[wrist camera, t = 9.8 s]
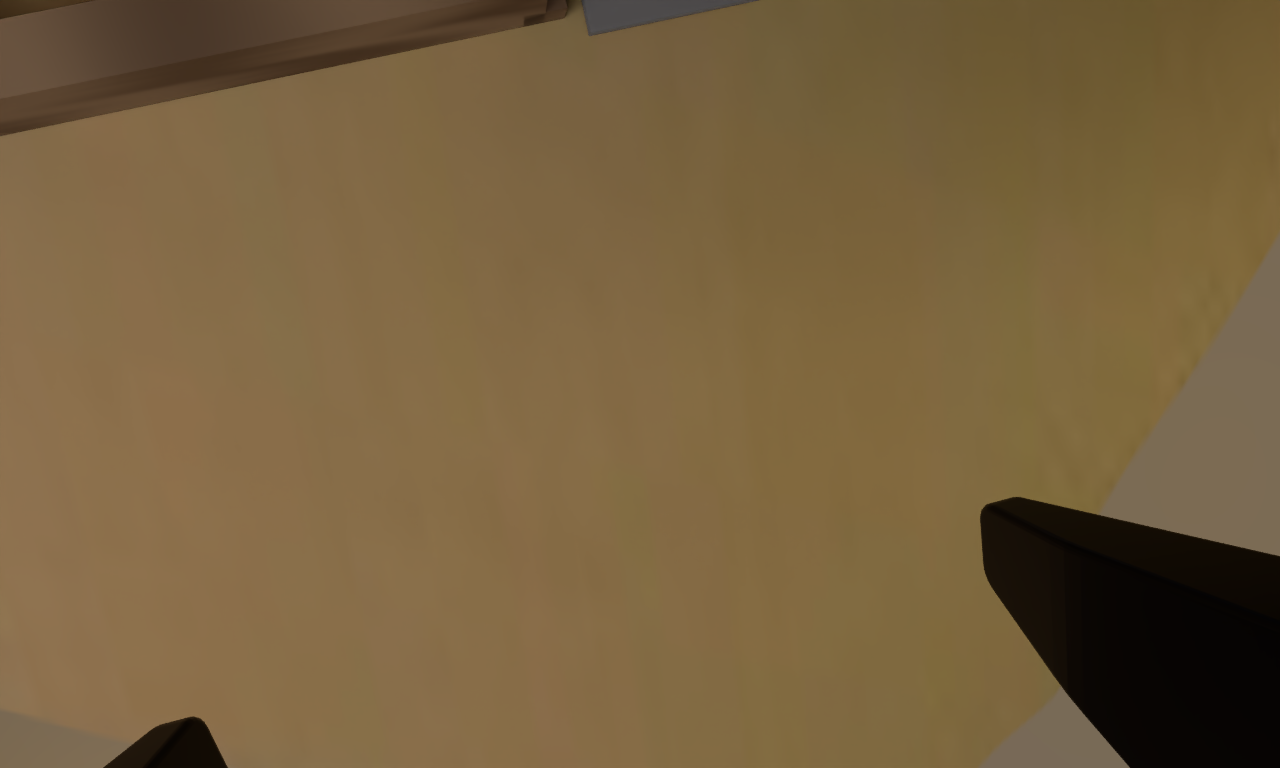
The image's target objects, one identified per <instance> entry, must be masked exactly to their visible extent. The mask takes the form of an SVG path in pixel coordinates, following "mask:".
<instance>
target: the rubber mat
mask: <svg viewBox="0 0 1280 768" xmlns="http://www.w3.org/2000/svg"><path fill="white" fill-rule="evenodd" d="M753 1H758V0H582V5H583V10H584V15H585V19H586V24H587V29H588V34H589V36H592V35H597V34H601V33H606V32H611V31H616V30H620V29H625V28H630V27H634V26H639V25H644V24H649V23H653V22H658V21H663V20H668V19H672V18H677V17H682V16H687V15H691V14H696V13H701V12H706V11H710V10H715V9H720V8H725V7H729V6H734V5H739V4H743V3H748V2H753Z"/></svg>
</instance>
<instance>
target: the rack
mask: <svg viewBox="0 0 1280 768" xmlns="http://www.w3.org/2000/svg"><path fill="white" fill-rule="evenodd" d="M566 11H567V3H566V0H94V1H89V2H84V3H79V4H74V5H69V6H64V7H59V8H54V9H49V10H44V11H39V12H34V13H29V14H24V15H19V16H13V17H8V18H3V19H0V136H2V135H7V134H12V133H17V132H22V131H26V130H31V129H36V128H41V127H46V126H50V125H55V124H60V123H65V122H69V121H74V120H79V119H84V118H89V117H93V116H98V115H103V114H108V113H113V112H117V111H122V110H127V109H132V108H137V107H141V106H146V105H151V104H156V103H160V102H165V101H170V100H175V99H180V98H184V97H189V96H194V95H199V94H204V93H208V92H213V91H218V90H223V89H228V88H232V87H237V86H242V85H247V84H251V83H256V82H261V81H266V80H271V79H275V78H280V77H285V76H290V75H295V74H299V73H304V72H309V71H314V70H319V69H323V68H328V67H333V66H338V65H342V64H347V63H352V62H357V61H362V60H366V59H371V58H376V57H381V56H386V55H390V54H395V53H400V52H405V51H410V50H414V49H419V48H424V47H429V46H433V45H438V44H443V43H448V42H453V41H457V40H462V39H467V38H472V37H477V36H481V35H486V34H491V33H496V32H500V31H505V30H510V29H515V28H520V27H524V26H529V25H534V24H539V23H544V22H548V21H553V20H558V19H563V18H564V17H565V14H566Z"/></svg>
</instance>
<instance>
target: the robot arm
mask: <svg viewBox="0 0 1280 768" xmlns="http://www.w3.org/2000/svg"><path fill="white" fill-rule="evenodd" d="M980 523H981V538H982V552H983V565H984V570H985V574H986V577H987V579H988V581H989V583H990V585H991V587H992V589H993V590H994V591H995V593H996V594H997V596H998V597H999V599H1000V600H1001V601H1002V603H1003V604H1004V606H1005V607H1006V609H1007V610H1008V611H1009V613H1010V614H1011V616H1012V617H1013V619H1014V620H1015V621H1016V623H1017V624H1018V626H1019V627H1020V629H1021V630H1022V631H1023V633H1024V634H1025V636H1026V637H1027V639H1028V640H1029V641H1030V643H1031V644H1032V646H1033V647H1034V649H1035V650H1036V651H1037V653H1038V654H1039V656H1040V657H1041V658H1042V660H1043V661H1044V663H1045V664H1046V666H1047V667H1048V668H1049V670H1050V671H1051V673H1052V674H1053V676H1054V677H1055V678H1056V680H1057V681H1058V682H1059V684H1060V685H1061V686H1062V688H1063V689H1064V690H1065V692H1066V693H1067V694H1068V696H1069V697H1070V698H1071V699H1072V701H1073V702H1074V703H1075V704H1076V705H1077V707H1078V708H1079V709H1080V710H1081V711H1082V713H1083V714H1084V715H1085V716H1086V717H1087V718H1088V720H1089V721H1090V722H1091V723H1092V724H1093V725H1094V727H1095V728H1096V729H1097V730H1098V731H1099V732H1100V733H1101V735H1102V736H1103V737H1104V738H1105V739H1106V740H1107V741H1108V743H1109V744H1110V745H1111V746H1112V747H1113V749H1114V750H1115V751H1116V752H1117V753H1118V754H1119V755H1120V757H1121V758H1122V759H1123V760H1124V761H1125V762H1126V763H1127V765H1128V766H1129V767H1130V768H1280V556H1276V555H1272V554H1268V553H1263V552H1259V551H1254V550H1250V549H1246V548H1241V547H1237V546H1232V545H1228V544H1224V543H1219V542H1215V541H1210V540H1206V539H1202V538H1197V537H1193V536H1188V535H1184V534H1180V533H1175V532H1171V531H1166V530H1162V529H1158V528H1153V527H1149V526H1144V525H1140V524H1135V523H1131V522H1127V521H1123V520H1118V519H1113V518H1109V517H1105V516H1101V515H1096V514H1092V513H1088V512H1083V511H1079V510H1074V509H1070V508H1066V507H1061V506H1057V505H1052V504H1048V503H1044V502H1039V501H1035V500H1030V499H1026V498H1022V497H1012V498H1008V499H1004V500H1001V501H997V502H993V503H990V504H987V505H985V507H984V508H983V509H982V511H981V515H980ZM103 768H228V767H227V765H226V763H225V761H224V759H223V757H222V755H221V753H220V751H219V749H218V747H217V745H216V743H215V741H214V739H213V737H212V735H211V733H210V731H209V729H208V727H207V725H206V724H205V722H204V721H202V720H201V719H200V718H197V717H188V718H184V719H180V720H176V721H173V722H169V723H165V724H161V725H159V726H157V727H155V728H153V729H152V730H150V731H149V732H148V733H147V734H145V735H144V736H143V737H141V738H140V739H139V740H138V741H136V742H135V743H134V744H133V745H131V746H130V747H129V748H127V750H125V751H124V752H122V753H121V754H120V755H119V756H117V757H116V758H115V759H114V760H112V761H111V762H110V763H108V764H107V765H106V766H105V767H103Z"/></svg>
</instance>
